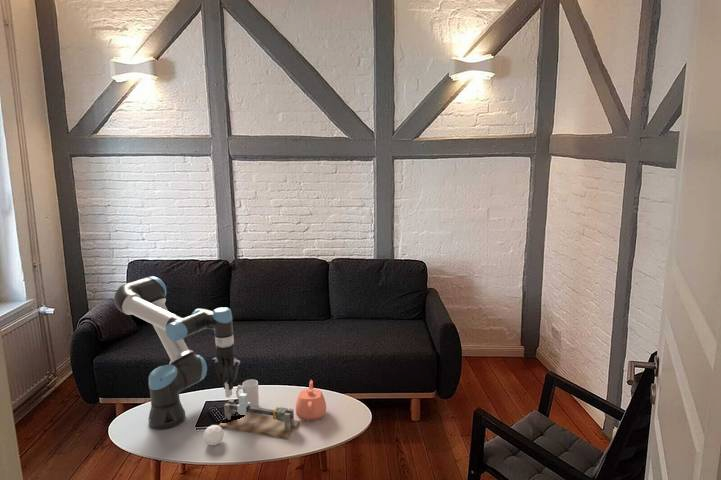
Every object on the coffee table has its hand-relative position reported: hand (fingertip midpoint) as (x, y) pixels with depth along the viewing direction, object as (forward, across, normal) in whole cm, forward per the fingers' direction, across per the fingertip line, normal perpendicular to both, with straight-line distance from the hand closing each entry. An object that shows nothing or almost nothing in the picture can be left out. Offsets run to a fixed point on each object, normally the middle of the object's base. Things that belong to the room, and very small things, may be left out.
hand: (229, 395), depth 226 cm
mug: (+12, +2, +12) cm, 17 cm away
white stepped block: (+7, +7, 0) cm, 10 cm away
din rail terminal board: (+12, +14, 0) cm, 18 cm away
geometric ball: (+12, +2, -17) cm, 21 cm away
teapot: (+12, +32, +14) cm, 37 cm away
